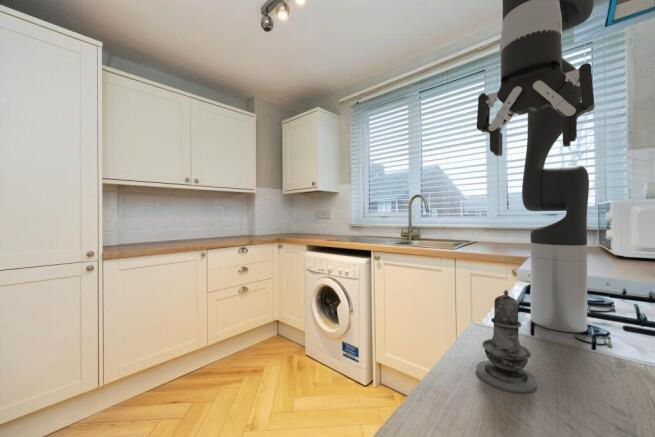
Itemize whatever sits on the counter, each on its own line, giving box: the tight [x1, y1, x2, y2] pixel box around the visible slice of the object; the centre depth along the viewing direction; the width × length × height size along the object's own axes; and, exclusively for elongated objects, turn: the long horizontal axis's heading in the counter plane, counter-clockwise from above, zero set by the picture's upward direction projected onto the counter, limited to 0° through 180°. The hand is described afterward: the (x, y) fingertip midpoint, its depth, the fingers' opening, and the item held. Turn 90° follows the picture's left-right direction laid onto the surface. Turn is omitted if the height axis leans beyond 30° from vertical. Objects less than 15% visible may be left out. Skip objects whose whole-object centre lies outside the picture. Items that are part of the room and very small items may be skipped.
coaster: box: [476, 359, 537, 394], centre depth 40 cm, size 7×7×1 cm
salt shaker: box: [481, 289, 532, 384], centre depth 40 cm, size 6×6×12 cm
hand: (529, 150), depth 43 cm, fingers open, 8 cm apart
